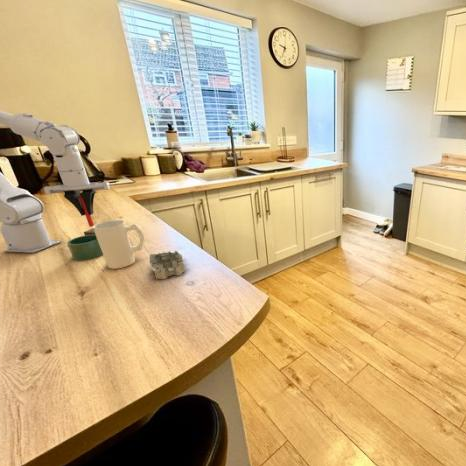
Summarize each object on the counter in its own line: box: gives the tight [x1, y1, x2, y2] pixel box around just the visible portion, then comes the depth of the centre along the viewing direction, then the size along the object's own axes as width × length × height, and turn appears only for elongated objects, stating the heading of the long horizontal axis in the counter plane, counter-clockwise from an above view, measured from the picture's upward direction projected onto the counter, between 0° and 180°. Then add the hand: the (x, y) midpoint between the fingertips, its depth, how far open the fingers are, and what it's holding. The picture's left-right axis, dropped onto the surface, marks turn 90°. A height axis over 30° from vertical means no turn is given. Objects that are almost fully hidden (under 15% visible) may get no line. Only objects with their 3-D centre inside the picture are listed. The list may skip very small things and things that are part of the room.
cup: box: [67, 235, 104, 261], centre depth 85 cm, size 7×7×5 cm
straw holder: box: [83, 228, 96, 236], centre depth 98 cm, size 7×7×3 cm
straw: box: [78, 195, 95, 228], centre depth 88 cm, size 1×1×10 cm
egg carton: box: [149, 250, 186, 280], centre depth 78 cm, size 11×8×4 cm
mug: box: [92, 219, 145, 270], centre depth 80 cm, size 10×7×12 cm, turn 129°
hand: (87, 214), depth 89 cm, fingers closed on straw, 1 cm apart
